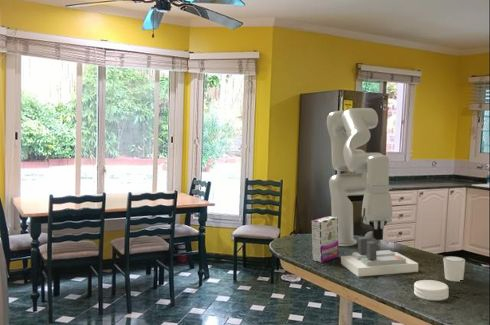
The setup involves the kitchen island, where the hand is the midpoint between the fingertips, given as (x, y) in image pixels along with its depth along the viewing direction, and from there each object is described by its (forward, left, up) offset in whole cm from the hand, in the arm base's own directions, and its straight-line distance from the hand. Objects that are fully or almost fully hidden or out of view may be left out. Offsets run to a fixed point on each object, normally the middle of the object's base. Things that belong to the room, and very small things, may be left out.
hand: (377, 238), depth 169 cm
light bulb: (-19, +7, -12) cm, 24 cm away
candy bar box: (-19, -13, -12) cm, 26 cm away
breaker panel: (-3, +2, -12) cm, 12 cm away
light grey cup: (+15, +21, -12) cm, 28 cm away
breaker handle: (+1, -3, -7) cm, 8 cm away
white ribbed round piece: (+27, +5, -12) cm, 30 cm away
